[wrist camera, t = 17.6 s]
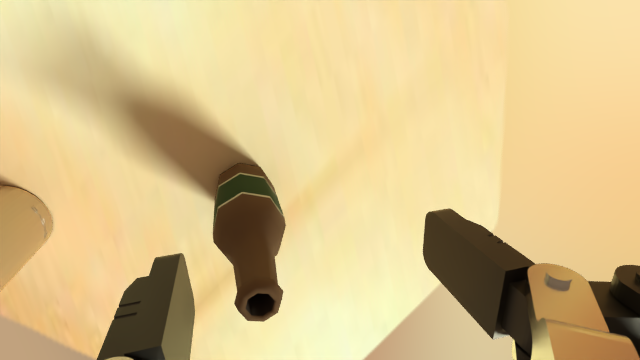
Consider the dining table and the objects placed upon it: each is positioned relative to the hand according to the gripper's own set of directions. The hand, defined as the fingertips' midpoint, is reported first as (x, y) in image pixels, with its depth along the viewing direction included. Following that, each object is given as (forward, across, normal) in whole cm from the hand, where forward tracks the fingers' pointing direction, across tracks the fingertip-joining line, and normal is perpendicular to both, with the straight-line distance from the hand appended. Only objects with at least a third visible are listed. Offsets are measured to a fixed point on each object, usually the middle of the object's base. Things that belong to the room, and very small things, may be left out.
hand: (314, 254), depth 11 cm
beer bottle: (+36, +2, +12) cm, 38 cm away
